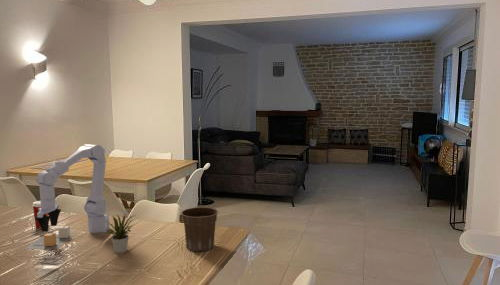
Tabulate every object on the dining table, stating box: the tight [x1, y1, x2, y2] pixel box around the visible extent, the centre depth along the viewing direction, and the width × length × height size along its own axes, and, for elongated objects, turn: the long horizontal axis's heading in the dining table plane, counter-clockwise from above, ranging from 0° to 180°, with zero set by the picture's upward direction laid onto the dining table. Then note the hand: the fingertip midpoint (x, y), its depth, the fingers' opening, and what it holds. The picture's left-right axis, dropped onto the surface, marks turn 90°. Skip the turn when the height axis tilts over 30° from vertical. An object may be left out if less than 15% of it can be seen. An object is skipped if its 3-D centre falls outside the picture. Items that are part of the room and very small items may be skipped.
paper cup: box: [32, 200, 49, 229], centre depth 196 cm, size 8×8×14 cm
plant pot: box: [180, 206, 219, 252], centre depth 171 cm, size 16×16×16 cm
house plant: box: [103, 213, 136, 254], centre depth 167 cm, size 14×14×16 cm
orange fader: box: [43, 232, 57, 246], centre depth 170 cm, size 4×3×5 cm
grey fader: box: [57, 225, 71, 238], centre depth 180 cm, size 4×3×5 cm
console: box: [24, 233, 76, 250], centre depth 175 cm, size 14×18×1 cm
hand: (49, 228), depth 170 cm, fingers open, 7 cm apart
